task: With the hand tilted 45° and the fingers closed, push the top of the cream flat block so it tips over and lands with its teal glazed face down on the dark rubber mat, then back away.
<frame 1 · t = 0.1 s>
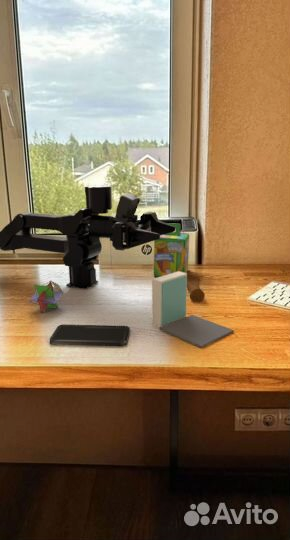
hand: (167, 232, 96), 17 cm above the table, tool horizontal, fingers open, 9 cm apart
geometric puzzle: (47, 310, 95), on the table
phone: (91, 339, 81), on the table
cream flat block: (169, 320, 89), on the table
mat: (196, 330, 83), on the table
chalk box: (171, 274, 122), on the table, touching primitive tool
primitive tool: (191, 290, 109), on the table, touching chalk box
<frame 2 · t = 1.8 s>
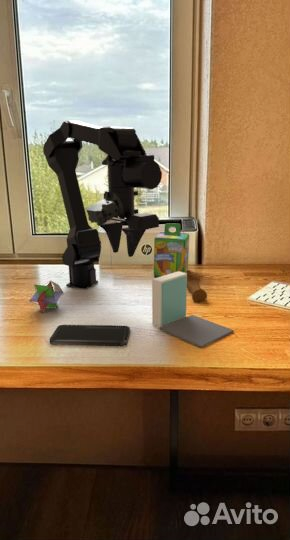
hand: (123, 254, 95), 12 cm above the table, tool pointing down, fingers open, 5 cm apart
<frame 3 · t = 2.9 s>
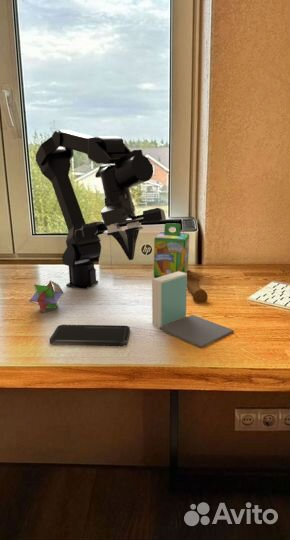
hand: (131, 259, 94), 11 cm above the table, tool tilted 15°, fingers closed
chalk box: (171, 274, 121), on the table
primitive tool: (192, 291, 108), on the table
everything else where it was.
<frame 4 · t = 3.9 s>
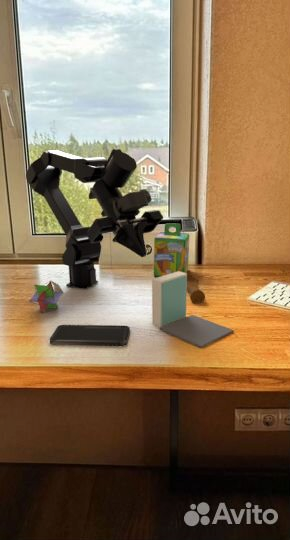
hand: (144, 255, 90), 13 cm above the table, tool tilted 45°, fingers closed
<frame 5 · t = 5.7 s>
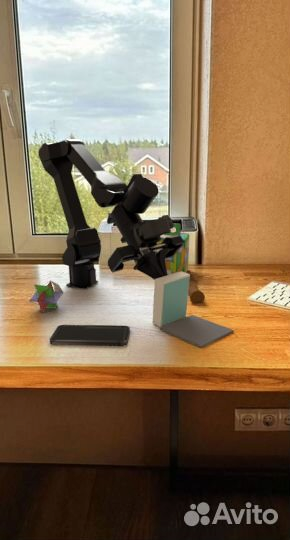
hand: (167, 284, 87), 8 cm above the table, tool tilted 45°, fingers closed
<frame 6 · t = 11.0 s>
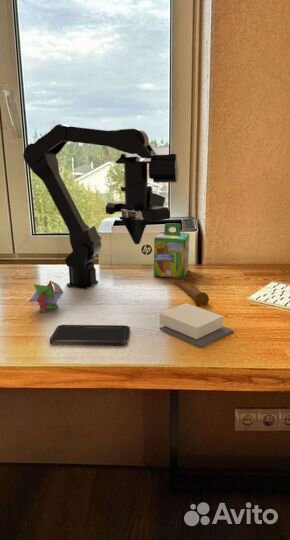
hand: (137, 243, 106), 12 cm above the table, tool pointing down, fingers closed
cream flat block: (173, 313, 87), point 2 cm above the table, tilted 90°, touching mat
primitive tool: (189, 294, 106), on the table
everything else where it was.
at the end: cream flat block tilted 90°; cream flat block inside the target area on the mat (0.6 cm from its centre), point 1.9 cm above the mat's base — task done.
